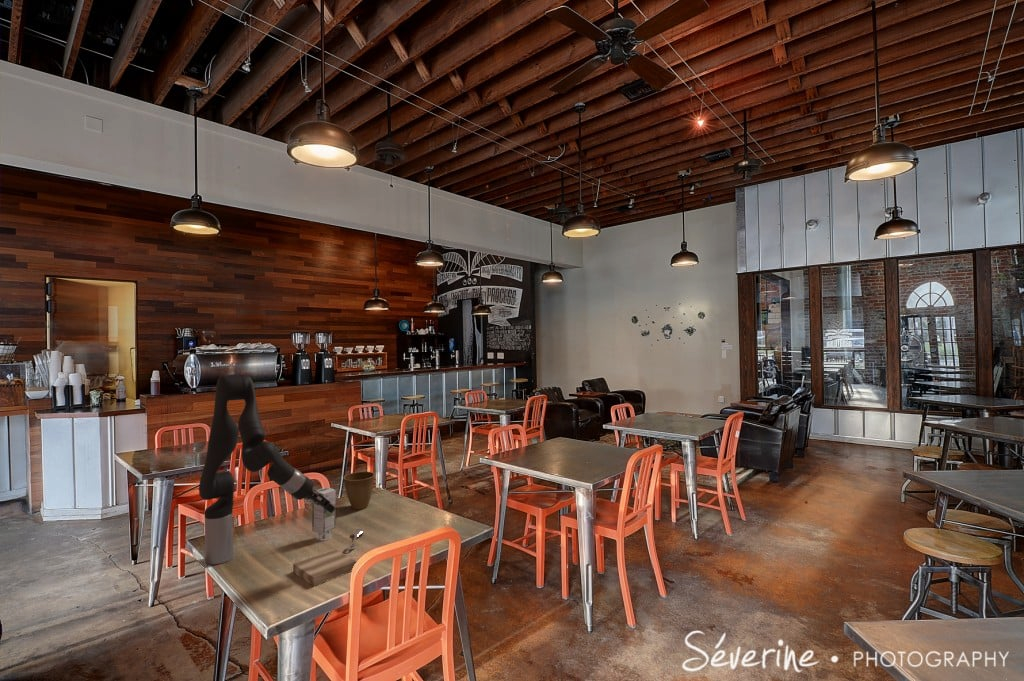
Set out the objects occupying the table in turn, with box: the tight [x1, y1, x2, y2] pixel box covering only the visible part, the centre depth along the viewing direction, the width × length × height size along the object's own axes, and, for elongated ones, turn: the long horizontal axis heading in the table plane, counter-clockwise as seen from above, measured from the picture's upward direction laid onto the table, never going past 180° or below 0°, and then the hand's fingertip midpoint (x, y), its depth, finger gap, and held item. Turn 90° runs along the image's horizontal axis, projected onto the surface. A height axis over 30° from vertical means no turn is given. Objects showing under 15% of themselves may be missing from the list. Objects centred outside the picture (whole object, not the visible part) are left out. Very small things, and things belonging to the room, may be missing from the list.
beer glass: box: [315, 530, 333, 542], centre depth 205 cm, size 7×7×15 cm
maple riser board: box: [292, 548, 358, 587], centre depth 176 cm, size 16×16×3 cm
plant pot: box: [343, 471, 375, 511], centre depth 242 cm, size 15×15×16 cm
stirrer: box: [344, 528, 365, 550], centre depth 200 cm, size 20×4×5 cm
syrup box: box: [311, 487, 337, 533], centre depth 175 cm, size 6×6×14 cm
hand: (328, 508), depth 177 cm, fingers closed on syrup box, 6 cm apart
